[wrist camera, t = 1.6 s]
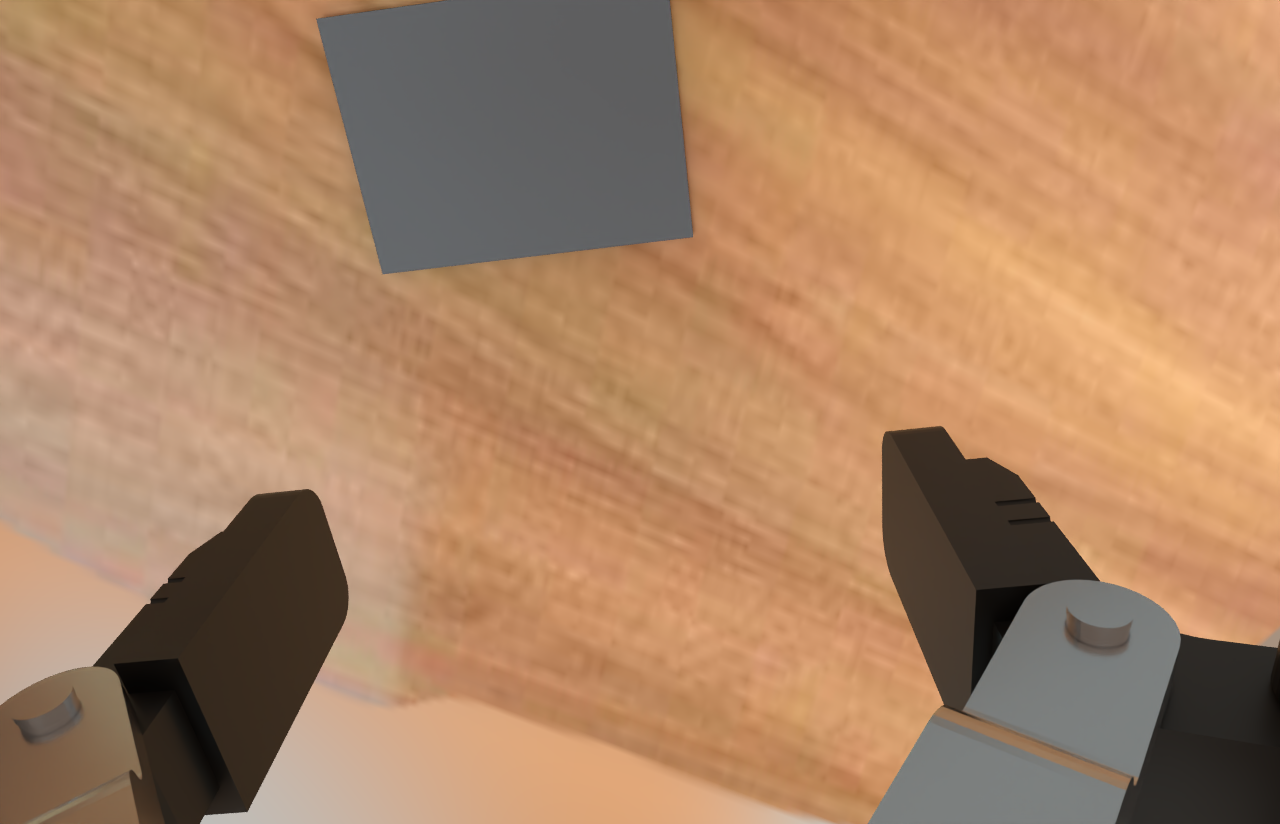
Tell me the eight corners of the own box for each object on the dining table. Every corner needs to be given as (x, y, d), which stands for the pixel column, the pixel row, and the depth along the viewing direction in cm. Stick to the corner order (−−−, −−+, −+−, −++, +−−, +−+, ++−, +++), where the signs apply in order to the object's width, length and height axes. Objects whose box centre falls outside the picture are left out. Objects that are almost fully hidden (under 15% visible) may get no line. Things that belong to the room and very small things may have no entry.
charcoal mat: (387, 269, 33) (382, 274, 33) (322, 18, 30) (316, 18, 29) (692, 233, 33) (693, 237, 32) (666, -31, 29) (666, -31, 28)
